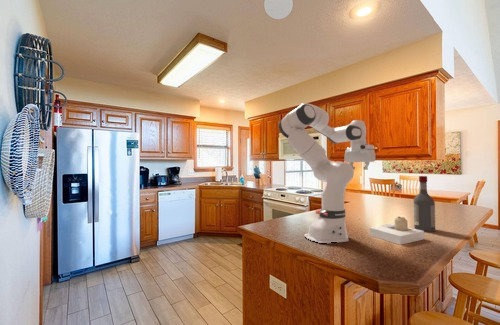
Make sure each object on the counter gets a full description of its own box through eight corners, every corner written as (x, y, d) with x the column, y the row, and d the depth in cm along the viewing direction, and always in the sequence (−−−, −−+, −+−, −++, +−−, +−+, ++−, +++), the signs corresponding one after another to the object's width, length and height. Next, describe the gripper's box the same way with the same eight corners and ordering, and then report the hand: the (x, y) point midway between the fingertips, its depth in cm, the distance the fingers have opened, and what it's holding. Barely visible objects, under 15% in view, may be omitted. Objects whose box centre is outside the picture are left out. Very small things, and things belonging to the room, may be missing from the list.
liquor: (433, 228, 130) (432, 175, 131) (435, 232, 123) (434, 176, 123) (414, 226, 135) (412, 175, 136) (414, 230, 128) (413, 176, 128)
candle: (392, 235, 120) (392, 216, 120) (402, 234, 120) (402, 215, 120) (399, 238, 114) (399, 218, 114) (410, 238, 115) (410, 218, 115)
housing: (400, 244, 106) (399, 236, 106) (369, 235, 120) (369, 227, 120) (424, 239, 113) (424, 231, 113) (392, 230, 128) (392, 223, 128)
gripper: (341, 148, 149) (342, 169, 149) (369, 145, 130) (369, 170, 130) (349, 148, 152) (349, 169, 151) (376, 145, 133) (377, 169, 133)
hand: (359, 169), depth 141 cm, fingers open, 8 cm apart
